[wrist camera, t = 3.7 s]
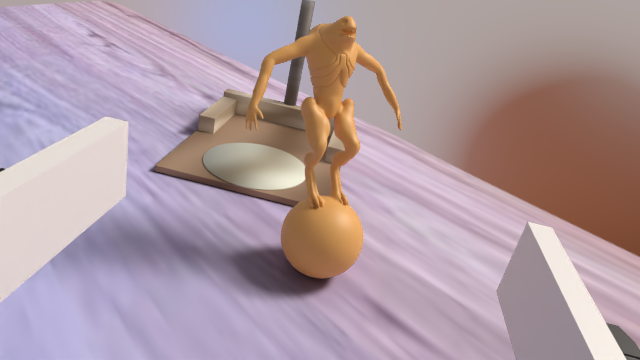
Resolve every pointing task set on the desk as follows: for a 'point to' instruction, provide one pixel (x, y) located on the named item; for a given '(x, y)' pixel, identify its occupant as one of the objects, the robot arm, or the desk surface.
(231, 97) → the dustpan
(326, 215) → the figurine
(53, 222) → the robot arm
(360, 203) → the desk surface
